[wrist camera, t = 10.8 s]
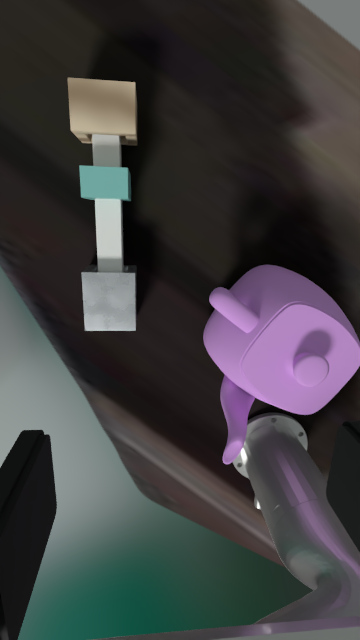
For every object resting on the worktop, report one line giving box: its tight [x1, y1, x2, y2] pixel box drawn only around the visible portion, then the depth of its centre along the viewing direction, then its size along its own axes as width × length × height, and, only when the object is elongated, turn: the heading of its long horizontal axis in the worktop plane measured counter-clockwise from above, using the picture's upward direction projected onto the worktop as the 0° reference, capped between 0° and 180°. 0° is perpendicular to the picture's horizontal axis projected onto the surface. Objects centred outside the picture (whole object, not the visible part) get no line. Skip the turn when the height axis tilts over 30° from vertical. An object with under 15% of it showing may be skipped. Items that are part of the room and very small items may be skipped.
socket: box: [68, 78, 137, 146], centre depth 36 cm, size 4×6×6 cm
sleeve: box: [82, 265, 137, 331], centre depth 42 cm, size 7×6×6 cm
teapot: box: [203, 265, 360, 464], centre depth 42 cm, size 23×21×15 cm
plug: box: [80, 134, 131, 271], centre depth 38 cm, size 18×5×7 cm, turn 178°
